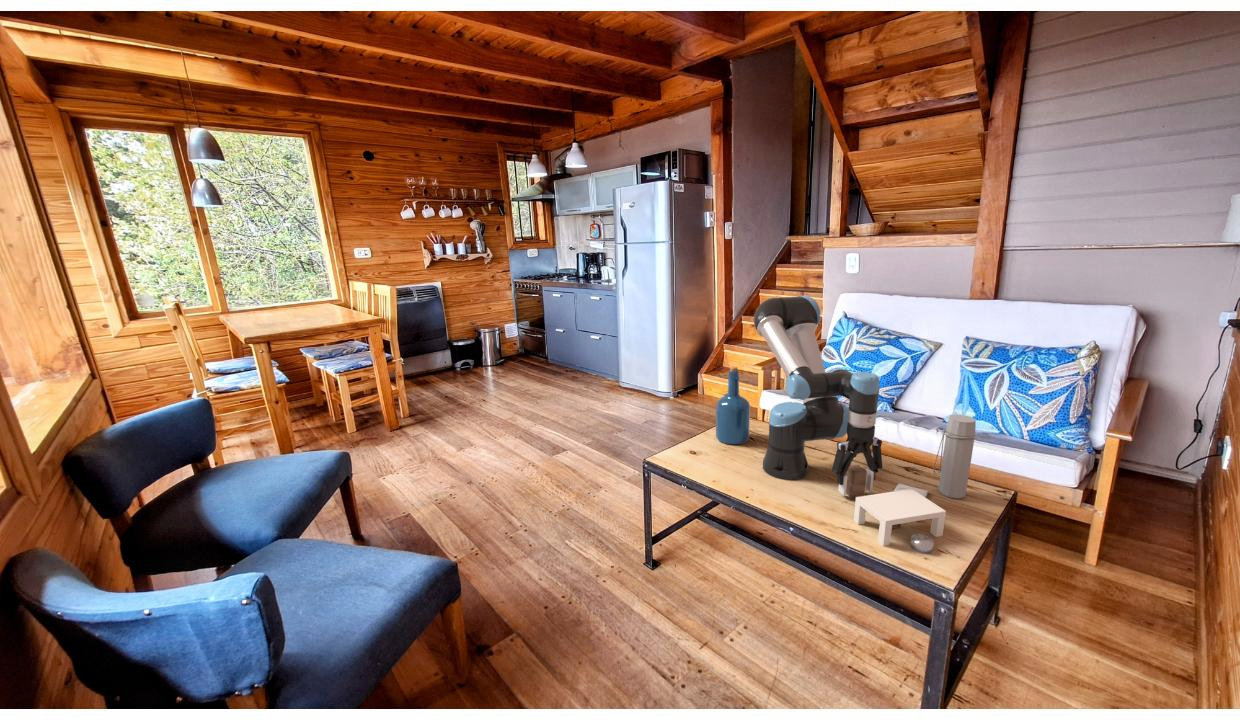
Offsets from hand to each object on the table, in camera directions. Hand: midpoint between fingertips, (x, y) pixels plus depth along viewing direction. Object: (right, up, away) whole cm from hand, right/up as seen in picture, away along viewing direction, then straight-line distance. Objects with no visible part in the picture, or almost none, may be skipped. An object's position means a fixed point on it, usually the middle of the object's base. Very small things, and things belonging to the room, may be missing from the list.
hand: (855, 491), depth 152 cm
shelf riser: (+3, -6, -17) cm, 18 cm away
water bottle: (+29, 0, 0) cm, 29 cm away
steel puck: (+5, -8, -25) cm, 27 cm away
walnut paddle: (+2, -3, -7) cm, 8 cm away
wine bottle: (-28, +9, +45) cm, 54 cm away
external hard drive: (+15, -2, -2) cm, 15 cm away
